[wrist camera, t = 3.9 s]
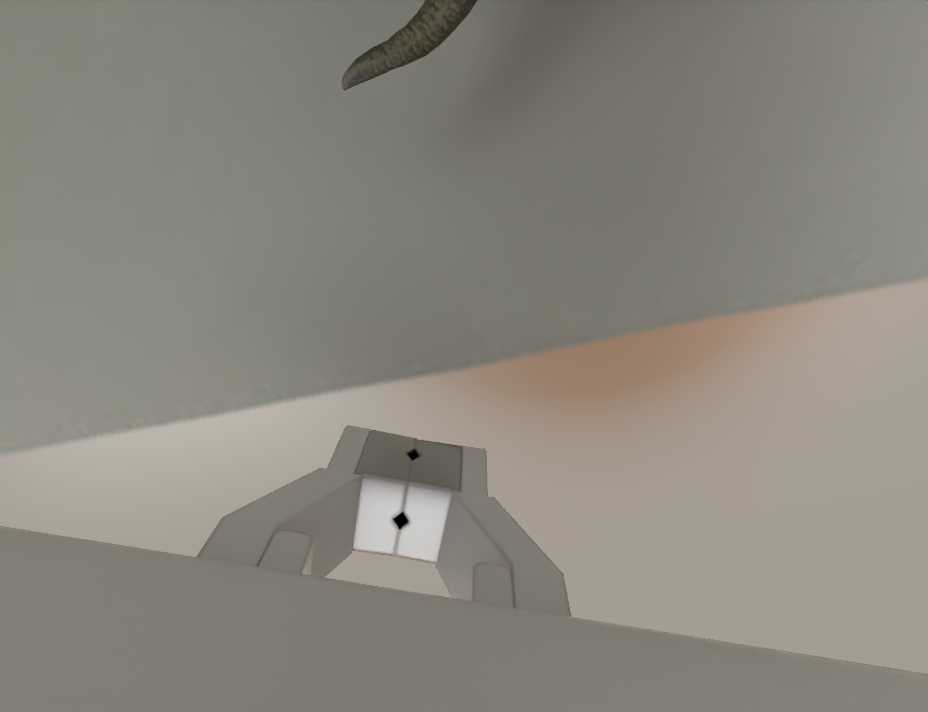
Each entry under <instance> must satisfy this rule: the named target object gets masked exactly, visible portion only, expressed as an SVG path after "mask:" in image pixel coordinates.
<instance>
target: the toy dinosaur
mask: <svg viewBox="0 0 928 712" xmlns="http://www.w3.org/2000/svg"><path fill="white" fill-rule="evenodd" d="M476 2H477V0H426V1H425V3H424V4H423V5H422V7H421V8H420V10H419V11H418V13H417V14H416V15H415V16H414V17H413V18H412V19H411V20H410V21H409V23H408V24H407V25H406V26H405V27H404V28H402V29H401V30H399V31H398V32H396V33H395V34H394V35H393V36H392V37H391V38H389V39H388V40H387V41H385V42H383V43H381V44H379V45H377V46H375V47H373V48H371V49H370V50H368V51H367V52H366V53H364V54H363V55H361V56H360V57H358V58H357V59H356V60H355V61H354V62H353V63H352V65H351V66H350V67H349V68H348V70H347V71H346V73H345V74H344V76H343V79H342V88H343V89H344V91H345V90H347V89H349V88H351V87H353V86H356V85H358V84H360V83H363V82H365V81H368V80H370V79H373V78H375V77H377V76H379V75H382V74H384V73H386V72H388V71H390V70H392V69H395V68H398V67H401V66H404V65H406V64H409V63H411V62H413V61H415V60H417V59H420V58H422V57H424V56H426V55H427V54H428V53H430V52H431V51H432V50H434V49H435V48H436V47H438V46H439V45H440V44H441V43H442V42H443V41H444V40H445V39H446V38H447V37H448V36H449V35H450V34H451V33H452V32H453V31H454V30H455V29H456V28H457V26H458V25H459V24H460V23H461V22H462V21H463V20H464V18H465V17H466V16H467V15H468V14H469V13H470V11H471V9H472V8H473V6H474V5H475V3H476Z"/></svg>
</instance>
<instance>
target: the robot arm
mask: <svg viewBox="0 0 928 712" xmlns="http://www.w3.org/2000/svg"><path fill="white" fill-rule="evenodd" d="M487 492H488V490H487V457H486V450H485V449H480V448H473V447H465V446H457V445H451V444H444V443H437V442H431V441H424V440H417V439H416V438H410V437H406V436H401V435H396V434H391V433H386V432H380V431H376V430H371V431H370V429H366V428H360V427H353V426H347V427H346V428H345V429H344V431H343V433H342V435H341V438H340V440H339V442H338V444H337V447H336V449H335V452H334V454H333V456H332V458H331V461H330V463H329V465H328V467H327V469H323V468H319V469H317V470H315V471H313V472H311V473H309V474H307V475H305V476H303V477H301V478H299V479H297V480H295V481H293V482H291V483H289V484H287V485H285V486H283V487H281V488H279V489H278V490H275V491H274V492H272V493H270V494H268V495H266V496H264V497H262V498H260V499H258V500H256V501H254V502H252V503H250V504H248V505H246V506H244V507H242V508H240V509H238V510H236V511H234V512H232V513H230V514H228V515H226V516H224V517H222V519H221V520H220V522H219V523H218V525H217V526H216V528H215V529H214V531H213V532H212V534H211V535H210V537H209V539H208V540H207V542H206V543H205V545H204V546H203V548H202V549H201V551H200V552H199V554H198V555H197V557H192V556H185V555H179V554H173V553H167V552H160V551H154V550H148V549H141V548H135V547H129V546H122V545H116V544H110V543H103V542H98V541H91V540H85V539H79V538H72V537H66V536H60V535H53V534H48V533H41V532H35V531H29V530H23V529H16V528H10V527H4V526H0V712H928V674H924V673H917V672H911V671H905V670H899V669H892V668H886V667H880V666H874V665H868V664H861V663H855V662H848V661H842V660H836V659H829V658H824V657H817V656H811V655H804V654H799V653H792V652H786V651H780V650H774V649H767V648H761V647H755V646H748V645H742V644H736V643H730V642H723V641H717V640H711V639H705V638H699V637H692V636H686V635H680V634H674V633H668V632H661V631H655V630H649V629H642V628H636V627H629V626H624V625H617V624H611V623H605V622H599V621H592V620H586V619H580V618H574V617H571V613H570V608H569V602H568V598H567V592H566V586H565V581H564V575H563V573H562V572H561V571H560V570H559V569H558V568H557V567H556V566H555V564H554V563H553V562H552V561H551V560H550V559H549V558H548V557H547V556H546V554H545V553H544V552H543V551H542V550H541V549H540V548H539V547H538V546H537V544H536V543H535V542H534V541H533V540H532V539H531V538H530V537H529V536H528V534H526V532H525V531H524V530H523V529H522V528H521V527H520V526H519V525H518V524H517V522H516V521H515V520H514V519H513V518H512V517H511V516H510V515H509V514H508V512H507V511H506V510H505V509H504V508H503V507H502V506H501V505H500V504H499V502H498V501H497V500H496V499H495V498H493V497H488V493H487ZM352 551H360V552H367V553H375V554H382V555H390V556H397V557H401V558H407V559H412V560H418V561H422V562H428V563H433V564H436V567H437V569H438V571H439V573H440V574H441V577H442V579H443V581H444V583H445V584H446V587H447V588H448V590H449V592H450V594H451V596H452V598H447V597H442V596H435V595H429V594H423V593H416V592H410V591H404V590H398V589H392V588H385V587H379V586H373V585H367V584H360V583H354V582H348V581H342V580H335V579H329V578H324V577H325V576H326V575H327V574H329V573H330V572H331V571H332V570H333V569H334V568H335V567H336V566H338V565H339V564H340V563H341V562H342V561H343V560H344V559H345V558H346V557H348V556H349V555H350V554H351V553H352ZM395 551H396V552H395Z"/></svg>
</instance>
